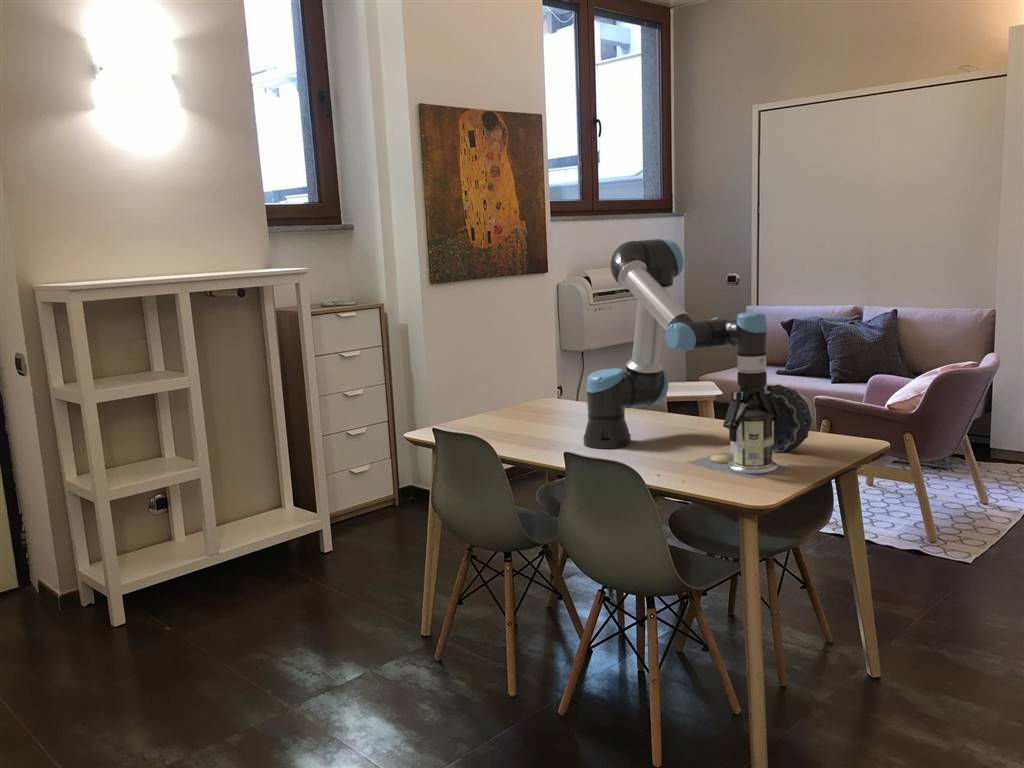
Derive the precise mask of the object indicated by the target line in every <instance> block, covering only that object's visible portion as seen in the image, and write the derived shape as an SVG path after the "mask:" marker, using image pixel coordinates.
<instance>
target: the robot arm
mask: <svg viewBox="0 0 1024 768" xmlns="http://www.w3.org/2000/svg"><path fill="white" fill-rule="evenodd" d="M682 252H683V251H682V250H681V249H680V246H679V245H678V244H677V243H676V242H675V241H674V240H673V239H665V238H664V239H661V238H657V239H646V240H645V239H644V240H630V241H626V242H624V243H622V244H620V245H619V246H617V248H616V249H615V250H614V251H613V254H612V255H611V258H610V263H609V264H610V265H609V266H610V272H611V275H612V276H613V279H614V280H615V282H616V283H617V284H618V285H619V286H620V288H623V289H625V290H628V291H629V292H630V293H631V294H632V295H633V297H635V299H636V300H637V306H636V316H635V324H634V325H635V327H634V333H633V334H634V335H633V344H632V345H633V346H632V354H631V359H630V360H629V361H627V362H626V364H625V366H626V367H625V371H624V370H623V369H621V368H615V367H614V368H604V369H599V370H597V371H594V372H592V373H590V374H589V375H588V376H587V379H586V395H587V401H586V402H587V419H588V420H587V423H586V427H585V428H586V429H585V432H584V435H583V445H584V446H585V447H588V448H595V449H616V448H618V449H619V448H623V447H627V446H629V445H631V443H632V436H631V433H630V430H629V428H628V424H627V422H626V417H625V414H626V413H625V409H631V408H637V407H638V408H639V407H644V406H645V407H646V406H647V407H648V406H649V407H650V406H652V405H655V404H659V403H660V402H662V401H663V400H664V399H665V398H666V396H667V394H668V391H669V390H668V389H669V380H668V374H667V373H666V371H665V369H663V368H664V367H663V364H661V363H660V362H659V361H660V355H661V353H660V352H661V346H662V345H661V344H662V338H663V337H662V336H663V330H664V331H665V341H666V343H667V346H668V347H669V349H670V350H672V351H674V352H688V351H689V352H690V351H693V350H695V351H696V350H702V349H709V348H718V347H736V348H737V352H736V353H737V354H736V355H737V356H736V362H737V363H736V366H737V370H738V372H737V385H738V386H739V388H740V389H739V391H734V390H733V391H732V392H731V395H730V396H731V397H730V401H729V406H728V409H727V412H726V414H725V418H724V421H723V425H722V427H723V428H726V429H728V430H729V433H728V434H729V439H728V440H729V442H730V443H729V444H730V453H731V454H734V453H737V454H740V429H738V427H739V425H740V423H741V421H742V419H743V417H744V415H745V413H746V411H747V409H749V408H750V406H754V405H758V407H759V409H760V410H761V411H767V412H771V413H772V414H773V416H772V445H773V444H774V421H777V420H778V417H780V413H779V410H778V407H777V404H776V401H775V398H774V396H773V391H772V386H773V385H767V383H768V382H767V378H768V377H767V372H766V369H767V349H768V348H767V343H768V341H767V339H768V338H767V337H768V336H767V334H768V327H767V325H768V324H767V316H766V314H765V313H763V312H759V311H757V312H753V311H752V312H751V311H750V312H749V311H748V312H740V313H738V314H737V315H736V316H737V317H736V318H732V317H731V318H729V317H726V316H725V317H724V316H722V317H713V318H711V319H707V320H694V318H692V316H690V314H689V313H688V312H687V311H686V310H685V309H684V308H683V307H682V306H681V305H680V304H679V303H678V302H677V301H676V299H674V298H673V296H671V294H670V293H669V292H668V290H669V289H670V288H671V287H673V285H674V278H677V277H678V276H680V275H681V273H682V272H683V269H684V257H683V253H682ZM743 403H744V404H743ZM734 424H735V425H734Z"/></svg>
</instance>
